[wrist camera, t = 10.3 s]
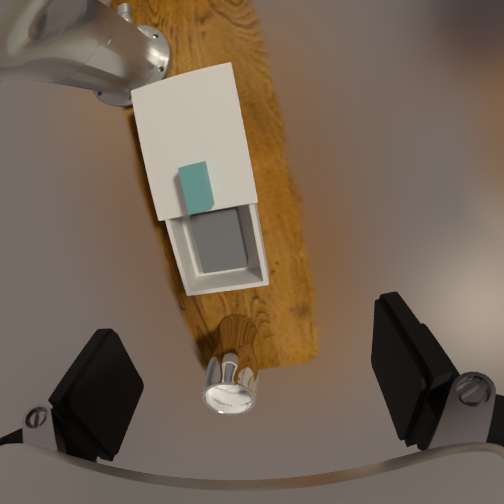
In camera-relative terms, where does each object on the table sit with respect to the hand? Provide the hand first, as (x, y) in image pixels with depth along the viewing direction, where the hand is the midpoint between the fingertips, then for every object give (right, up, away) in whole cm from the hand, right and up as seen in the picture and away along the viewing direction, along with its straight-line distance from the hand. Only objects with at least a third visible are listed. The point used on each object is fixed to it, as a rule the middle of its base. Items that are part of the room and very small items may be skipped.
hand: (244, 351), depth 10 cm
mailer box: (-4, +8, +30) cm, 31 cm away
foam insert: (-4, +6, +31) cm, 31 cm away
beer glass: (-2, -9, +37) cm, 38 cm away
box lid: (-6, +16, +21) cm, 27 cm away
